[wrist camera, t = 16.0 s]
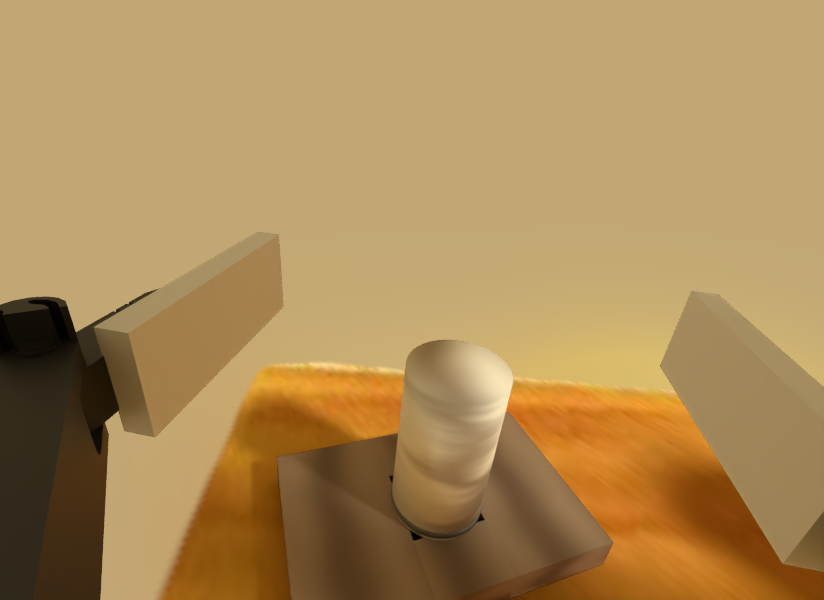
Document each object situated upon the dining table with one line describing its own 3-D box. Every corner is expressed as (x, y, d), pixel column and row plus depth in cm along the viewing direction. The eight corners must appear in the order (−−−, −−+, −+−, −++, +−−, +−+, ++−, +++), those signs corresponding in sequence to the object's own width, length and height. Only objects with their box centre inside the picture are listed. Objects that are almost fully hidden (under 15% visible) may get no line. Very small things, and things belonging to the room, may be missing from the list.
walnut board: (504, 431, 43) (509, 412, 42) (603, 563, 31) (613, 542, 30) (277, 478, 35) (276, 457, 34) (298, 678, 24) (297, 655, 22)
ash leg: (453, 473, 37) (480, 334, 31) (492, 546, 32) (536, 394, 25) (377, 491, 35) (391, 345, 28) (405, 574, 29) (429, 413, 23)
